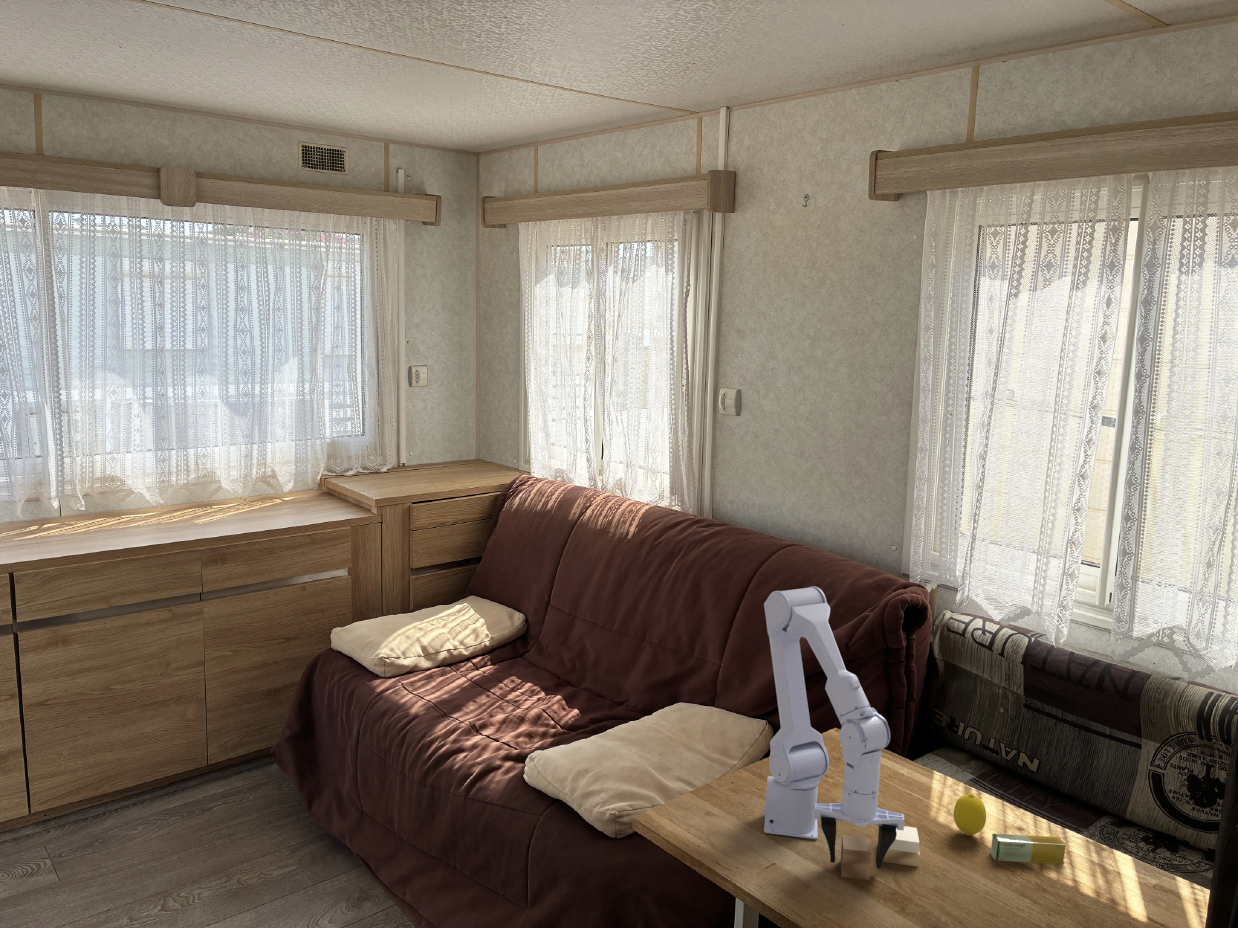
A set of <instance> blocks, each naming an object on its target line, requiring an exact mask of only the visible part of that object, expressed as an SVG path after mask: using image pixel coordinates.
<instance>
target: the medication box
mask: <svg viewBox="0 0 1238 928" xmlns="http://www.w3.org/2000/svg"><path fill="white" fill-rule="evenodd" d="M991 837H992V838H991V847H990V851H989V852H990V853H989V854H990V856H991V858H992V859H993V860H994V861H999V862H1016V863H1017V862H1019V863H1039V864H1041V863H1042V864H1046V863H1047V864H1065V862H1064V860H1065V853H1066V847H1067V844H1066V843H1065V842H1064V840H1063V839H1062V838H1061V837H1060V836H1046V835H1045V836H1044V835H1029V834H1028V835H1026V834H1007V833H1006V834H1005V833H992V834H991Z"/></svg>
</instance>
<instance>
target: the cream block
mask: <svg viewBox="0 0 1238 928" xmlns="http://www.w3.org/2000/svg"><path fill="white" fill-rule="evenodd" d="M896 833H897V836H896V839H895V841H894V842H893V843H892V845H891V846H890V847H889V849H890V850H897V851H904V852H911V853H918V854H919V852H920V839H919V833H918V829H917V827H914V826H907V825H906V826H905V825H904V830H898V829H897V828H896Z"/></svg>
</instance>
